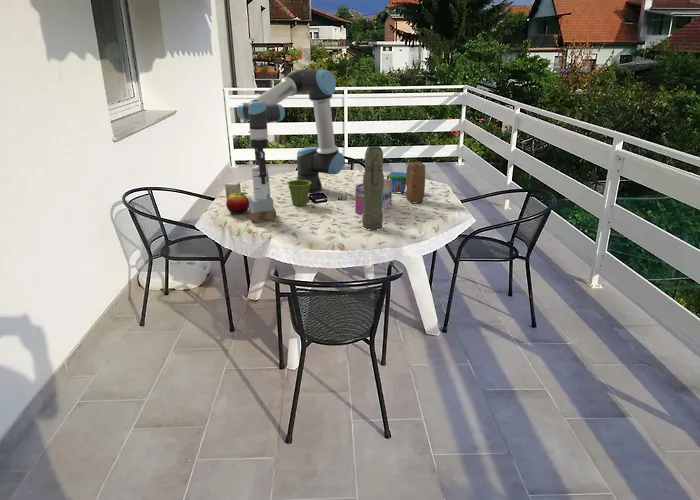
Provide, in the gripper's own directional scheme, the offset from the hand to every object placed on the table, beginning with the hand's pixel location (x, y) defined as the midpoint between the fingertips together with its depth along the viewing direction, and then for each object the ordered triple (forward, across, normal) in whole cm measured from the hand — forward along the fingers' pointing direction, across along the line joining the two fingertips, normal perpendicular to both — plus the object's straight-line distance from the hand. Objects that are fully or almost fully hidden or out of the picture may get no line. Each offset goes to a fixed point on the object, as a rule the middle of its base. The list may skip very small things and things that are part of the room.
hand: (261, 188), depth 235 cm
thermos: (+14, +26, +44) cm, 53 cm away
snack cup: (+15, -29, +78) cm, 84 cm away
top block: (+10, 0, -1) cm, 10 cm away
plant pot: (+14, -19, +21) cm, 32 cm away
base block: (+15, 0, 0) cm, 15 cm away
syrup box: (+5, 0, 0) cm, 5 cm away
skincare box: (+14, -22, -11) cm, 29 cm away
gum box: (+15, -1, +54) cm, 56 cm away
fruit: (+15, -13, -10) cm, 22 cm away
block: (+14, -9, +79) cm, 81 cm away
